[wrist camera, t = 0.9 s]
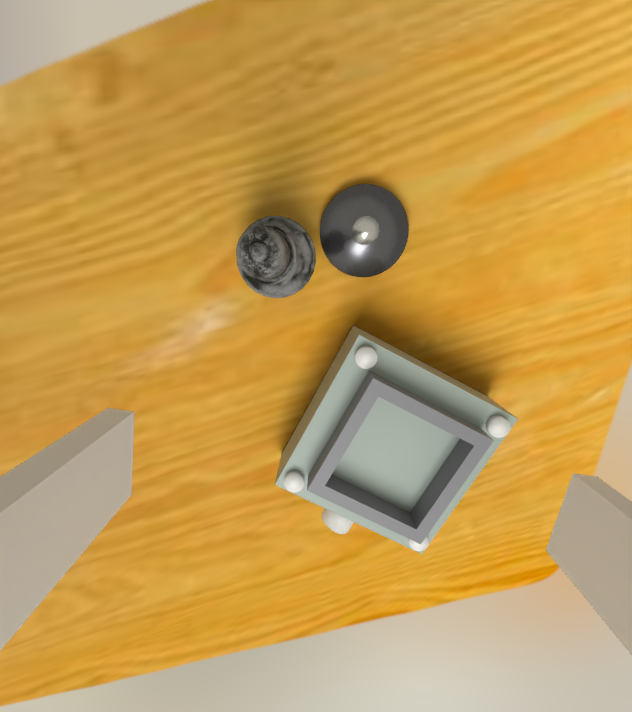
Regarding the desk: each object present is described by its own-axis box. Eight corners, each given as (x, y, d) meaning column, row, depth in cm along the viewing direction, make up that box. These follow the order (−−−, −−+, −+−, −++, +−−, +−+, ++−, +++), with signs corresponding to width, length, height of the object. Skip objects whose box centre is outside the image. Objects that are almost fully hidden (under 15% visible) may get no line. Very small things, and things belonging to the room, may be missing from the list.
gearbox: (270, 474, 34) (257, 523, 27) (353, 325, 31) (362, 339, 24) (395, 533, 35) (413, 595, 29) (488, 396, 32) (533, 430, 25)
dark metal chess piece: (326, 237, 29) (329, 212, 17) (303, 304, 30) (291, 324, 19) (258, 212, 29) (215, 169, 17) (237, 281, 30) (184, 286, 18)
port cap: (305, 251, 29) (304, 250, 27) (345, 170, 28) (348, 161, 26) (378, 291, 30) (382, 293, 28) (421, 214, 29) (429, 209, 26)
